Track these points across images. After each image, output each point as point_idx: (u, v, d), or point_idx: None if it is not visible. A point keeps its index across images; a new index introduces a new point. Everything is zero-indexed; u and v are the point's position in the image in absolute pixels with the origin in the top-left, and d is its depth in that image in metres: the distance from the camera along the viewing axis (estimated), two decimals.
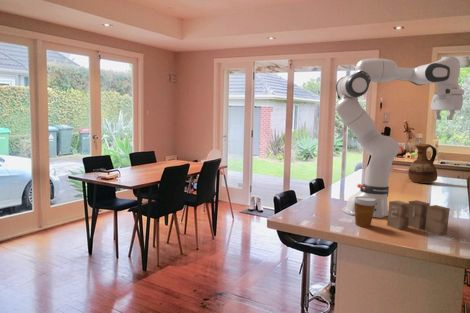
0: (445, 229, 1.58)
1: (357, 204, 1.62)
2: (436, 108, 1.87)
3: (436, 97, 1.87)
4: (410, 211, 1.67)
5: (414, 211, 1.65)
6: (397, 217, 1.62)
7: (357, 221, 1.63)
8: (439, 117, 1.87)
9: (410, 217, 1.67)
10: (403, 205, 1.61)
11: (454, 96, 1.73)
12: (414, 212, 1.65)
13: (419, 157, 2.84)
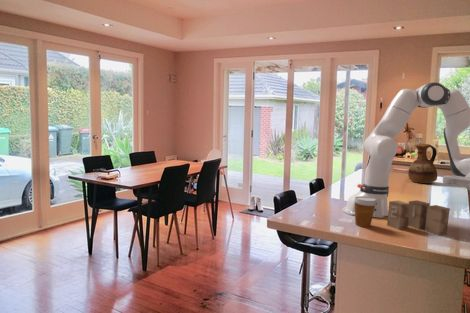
0: (445, 229, 1.58)
1: (357, 204, 1.62)
2: (455, 177, 1.70)
3: (460, 176, 1.73)
4: (410, 211, 1.67)
5: (414, 211, 1.65)
6: (397, 217, 1.62)
7: (357, 221, 1.63)
8: (450, 182, 1.67)
9: (410, 217, 1.67)
10: (403, 205, 1.61)
11: None
12: (414, 212, 1.65)
13: (419, 157, 2.84)
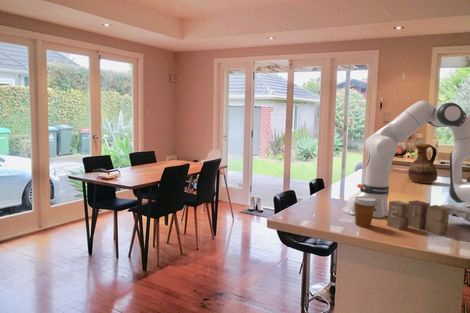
0: (445, 229, 1.58)
1: (357, 204, 1.62)
2: (452, 207, 1.71)
3: None
4: (410, 211, 1.67)
5: (414, 211, 1.65)
6: (397, 217, 1.62)
7: (357, 221, 1.63)
8: None
9: (410, 217, 1.67)
10: (403, 205, 1.61)
11: None
12: (414, 212, 1.65)
13: (419, 157, 2.84)
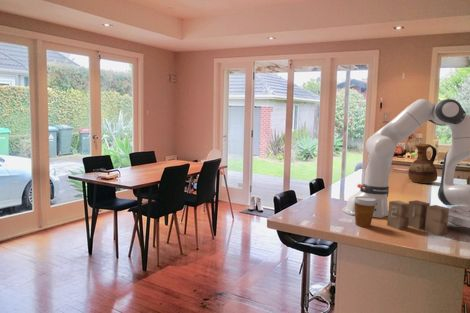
0: (445, 229, 1.57)
1: (357, 204, 1.62)
2: None
3: None
4: (410, 211, 1.67)
5: (414, 211, 1.65)
6: (397, 217, 1.62)
7: (357, 221, 1.63)
8: None
9: (410, 217, 1.67)
10: (403, 205, 1.61)
11: None
12: (414, 212, 1.65)
13: (419, 157, 2.84)
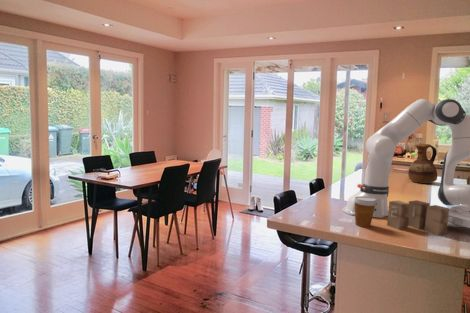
0: (445, 229, 1.57)
1: (357, 204, 1.62)
2: None
3: None
4: (410, 211, 1.67)
5: (414, 211, 1.65)
6: (397, 217, 1.62)
7: (357, 221, 1.63)
8: None
9: (410, 217, 1.67)
10: (403, 205, 1.61)
11: None
12: (414, 212, 1.65)
13: (419, 157, 2.84)
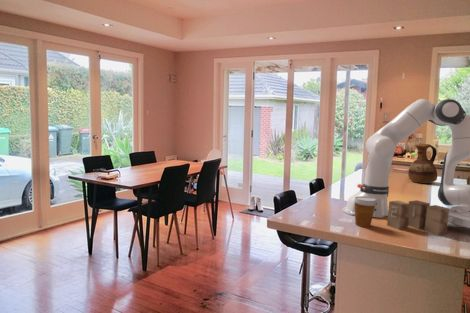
0: (445, 229, 1.57)
1: (357, 204, 1.62)
2: None
3: None
4: (410, 211, 1.67)
5: (414, 211, 1.65)
6: (397, 217, 1.62)
7: (357, 221, 1.63)
8: None
9: (410, 217, 1.67)
10: (403, 205, 1.61)
11: None
12: (414, 212, 1.65)
13: (419, 157, 2.84)
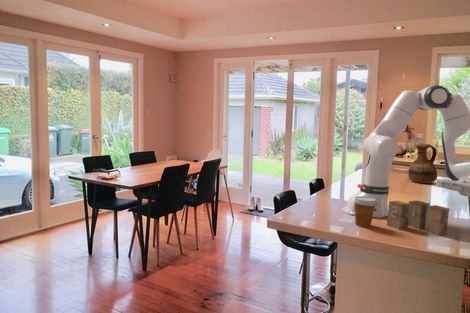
0: (445, 229, 1.57)
1: (357, 204, 1.62)
2: (448, 181, 1.73)
3: (453, 180, 1.76)
4: (410, 211, 1.67)
5: (414, 211, 1.65)
6: (397, 217, 1.62)
7: (357, 221, 1.63)
8: None
9: (410, 217, 1.67)
10: (403, 205, 1.61)
11: None
12: (414, 212, 1.65)
13: (419, 157, 2.84)
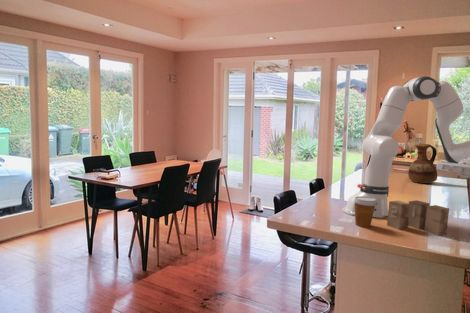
0: (445, 229, 1.57)
1: (357, 204, 1.62)
2: (449, 163, 1.74)
3: (453, 163, 1.77)
4: (410, 211, 1.67)
5: (414, 211, 1.65)
6: (397, 217, 1.62)
7: (357, 221, 1.63)
8: None
9: (410, 217, 1.67)
10: (403, 205, 1.61)
11: None
12: (414, 212, 1.65)
13: (419, 157, 2.84)
